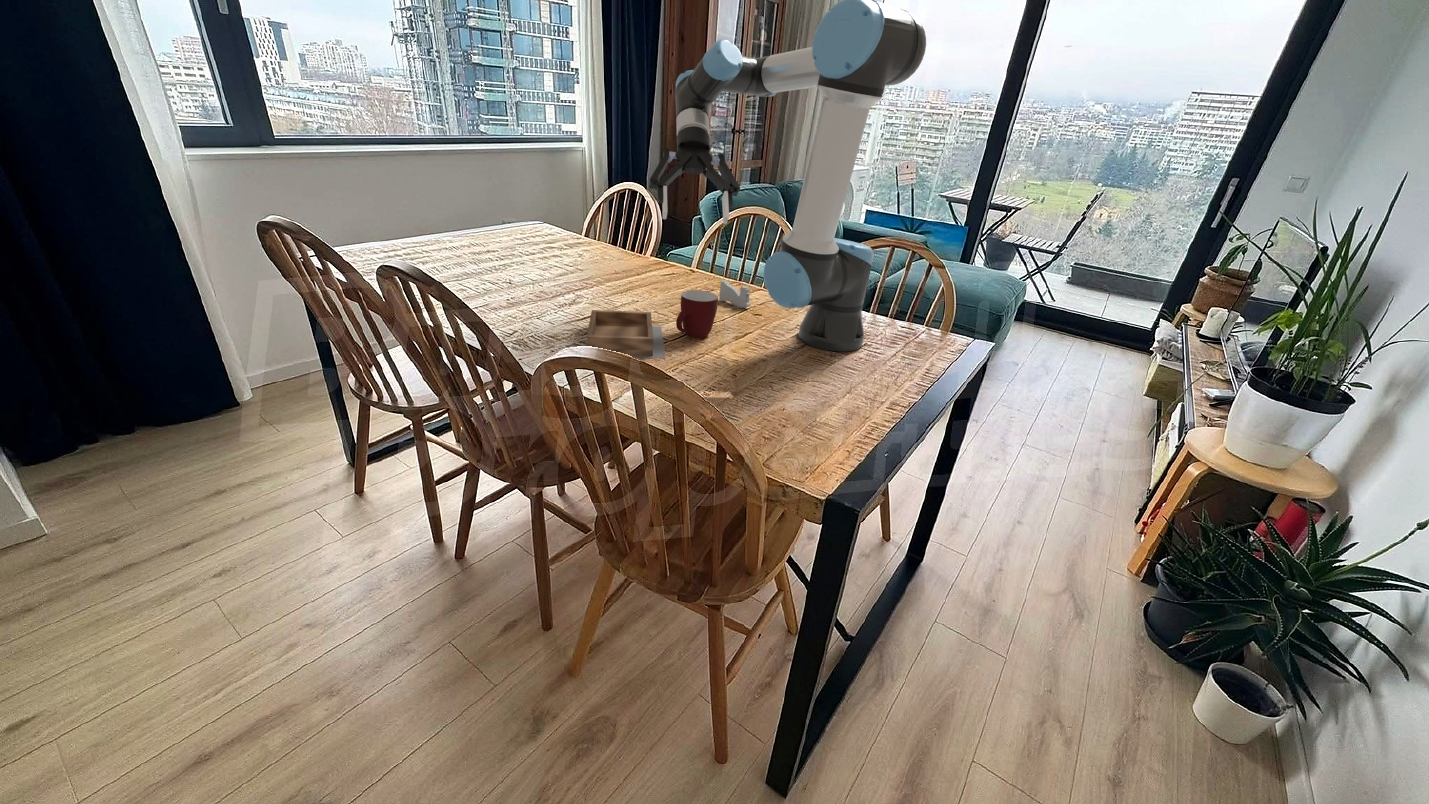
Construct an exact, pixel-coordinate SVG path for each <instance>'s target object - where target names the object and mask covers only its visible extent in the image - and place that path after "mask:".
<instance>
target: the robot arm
mask: <svg viewBox="0 0 1429 804" xmlns="http://www.w3.org/2000/svg"><path fill="white" fill-rule="evenodd" d="M815 30H816V31H815V33H814V34H813V35H814V36H813V40H812V45H811V46H809V47H805V48H800V49H795V50H790V51H786V52H781V53H776V54H771V55H766V56H762V57H754V56H753V57H751V56H747V55H742V52H741V51H740V49H739V48H738V47H737V46H736V45H735V44H734V43H731V42H730V41H729V40H727V39H718V40H716V41H715V42H714V43H713V45H712V46H711V47H710V48H709V49H708V50H707V51H706V52H705V53H704V54H703V57H702V59H700V61H699V62H698V64H697V66H695V68H694V69H690V70H686V71H684V72H683V73H680V74H679V75H678V77H677V78H676V81H675V89H674V90H675V92H674V99H675V101H674V102H675V118H676V120H675V121H676V151H670V148H669V147H665V148H664V150H663V154H662V155H663V156H662V158H661V159H660V161H659V163H658V164H657V166H656V168H655V169H654V171H653V173H652V174H651V177H650V178H649V184H648V187H649V189H651V190H655V191H656V194H657V195H656V196H657V197H656V198H657V203H658V204H662V205H661V206H662V220H667V218H668V187H669V185H670V184H671V183H672V182H674V180H675V179H676V178H678V177H679V176H681V175H682V174H683V173H684V172H685V173H686V174H688V175H689V174H690V175H691V174H695V175H701V174H702V175H703V176H704V177H705V178H706V179H709V180H710V181H711V183H712V184H713V185H714V186H715V187H716V189H718V191H719V192H720V193H721V194H722V197H721V202H722V203H721V205H722V220H723V221H722V223H723V224H724V225H727V224H728V220H729V218H730V210H732V207H733V205H734V204H733V202H734V200H733V197H737V196H738V195H739V192H740V189H741V186H740V185H739V183H738V181H737V179H736V178H735V176H734V175H733V173H732V171H731V169H730V167H729V165H728V164H727V163H726V159H725V154H724V153H719V154H718V155H712V153H711V140H710V122H709V116H710V115H709V108H710V106H711V105H712V104H713V103H714V102H715V101H716V100H717V99H718V97H719V96H721V94H722V93H723V92H724V93H732V94H741V95H742V94H743V95H751V96H756V97H761V98H767V97H774V96H776V95H777V94H778V93H783V92H784V93H785V92H790V91H797V90H804V89H813V88H817V89H818V91H819V93H820V94H821V97H822V101H821V105H820V110H819V115H818V118H817V121H816V123H817V124H816V127H815V132H814V135H813V140H812V144H811V147H810V153H809V158H808V161H807V165H806V169H805V170H806V171H805V175H804V178H803V182H802V187H801V189H800V190H801V191H800V194H799V200H798V203H797V209H796V212H795V217H794V222H793V225H792V229H791V230H789V232H786V233H785V234H784V235H782V239H781V244H780V249H779V251H775V252H774V253H773V254H772V255H771V256H769V257H768V258H767V259H766V261H765V264H764V268H763V282H764V285H765V288H766V290H767V292H768V295H769V296H770V298H771V299H772V300H773V301H774V302H775V303H776V304H777V305H778V306H780V307H782V308H784V309H785V308H786V309H795V308H796V309H801V308H805V307H807V306H809V307H808V310H807V311H806V313H805V316H804V317H803V319H802V321H801V323H800V325H799V329H798V334H797V335H798V338H799V339H800V340H801V341H802V342H804V343H805V344H807V345H809V346H812V347H814V348H817V349H821V350H826V351H831V352H852V351H856V350H859V349H861V348H862V347H863V343H864V337H865V333H864V323H863V316H862V315H863V314H862V312H863V307H864V302H865V297H866V293H867V288H868V283H869V278H870V274H871V270H872V267H873V260H874V251H873V248H871V246H869V245H866V244H863V243H860V242H855V241H852V240H847V239H843V238H837V237H836V232H837V229H838V225H839V222H840V219H841V215H842V210H843V207H844V204H845V200H846V196H847V193H848V189H849V185H850V182H851V179H852V175H853V171H854V168H855V163H856V160H857V156H858V153H859V151H860V150H859V149H860V146H861V141H862V139H863V135H864V130H865V128H866V126H867V125H866V124H867V121H868V117H869V113H870V109H871V108H872V106H874V105H875V104H877V103H878V102H879V101H881V100H882V98H883V95H884V92H885V88H886V86H895V85H899V84H901V83H903V82H904V81H907V80H908V79H910V78H911V76H913V75H914V74H915V73H916V71H917V70H918V69H919V68H920V65H921V63H922V62H923V60H924V57H925V53H926V48H927V36H926V31H925V28H924V26H923V24H922V22H921V21H920V19H919V18H918V17H917V16H916V15H914V14H913V13H912V12H910V11H909V10H908V11H907V10H905V9H902V8H897V7H895V6H892V5H889V4H886V3H884V2H880V1H877V0H840V1H837V2H836V3H835V4H834V5H833V6H832V8H831V9H829V10H827V11H826V13H825V14H824V15H823V17H822V18H821V20H820V22H819V23H818V25H817V28H816V29H815ZM673 160H674V161H676V164H675V165H674V167H672V168H671V169H670V170H669V171H668V172H667V173H666V174H665V175H664V176H663V174H664V172H665V170H666V168H667V167H668V165H669V164H670V163H671V162H672V161H673ZM713 164H714V165H715V167H716V168H717V169H718V171H717V170H716V169H715V168H714V165H713ZM718 172H719V173H718ZM662 176H663V177H662ZM661 177H662V178H661ZM860 347H861V348H860Z"/></svg>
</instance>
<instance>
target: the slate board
mask: <svg viewBox="0 0 1429 804" xmlns="http://www.w3.org/2000/svg"><path fill="white" fill-rule="evenodd" d="M652 329H653V356H635V355H630V356H632V357H634V358H633V359H635V358H636V359H663V360H664V359H666V353H665V345H664V338H663V330H662V326H654V325H652ZM586 346H587V343H586V345H585V347H586Z"/></svg>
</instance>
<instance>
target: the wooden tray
mask: <svg viewBox="0 0 1429 804" xmlns="http://www.w3.org/2000/svg"><path fill="white" fill-rule="evenodd" d="M590 313H591V314H590V319H589V324H588V328H587V333H586V344H587V346H592V347H598V348H603V349H607V350H611V351H616V352H621V353H624V354H628V355H635V356H653V329H652V326H653V322H652V321H653V319H652V312H651V311H629V310H628V311H626V310H625V311H623V310H602V309H600V310H599V309H592V310H591V312H590Z"/></svg>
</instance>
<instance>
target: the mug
mask: <svg viewBox="0 0 1429 804" xmlns="http://www.w3.org/2000/svg"><path fill="white" fill-rule="evenodd" d="M718 301H719V296H718V295H717V294H715V293H714V292H711V291H707V290H698V289H694V290H686V291H683V292H682V293H681V295H680V312H679V313H678V314H677V317H676V323H675V324H676V329H677V330H678V331H679V332H681V333H684V334H685V335H686V336H687V337H689V338H692V339H697V340H698V339H705V338H707V337H708V336H709V335H710V333H711V331H712V329H713V326H714V325H713V324H714V321H715V318H716V314H717V310H718Z"/></svg>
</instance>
